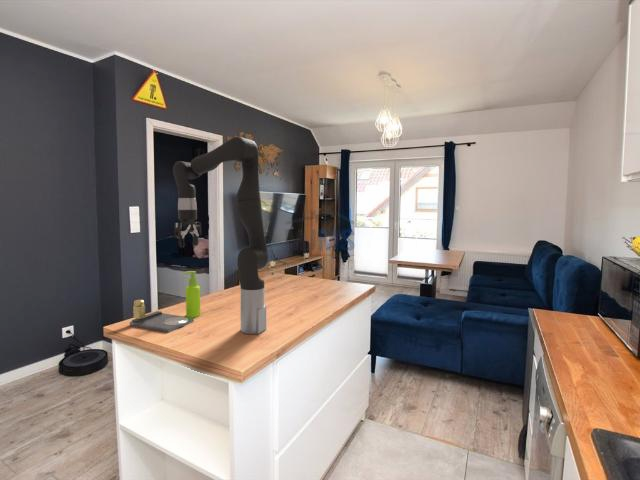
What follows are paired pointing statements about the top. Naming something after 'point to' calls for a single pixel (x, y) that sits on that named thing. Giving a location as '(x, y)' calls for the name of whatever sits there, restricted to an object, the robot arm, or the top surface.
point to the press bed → (161, 321)
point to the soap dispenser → (192, 297)
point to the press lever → (139, 309)
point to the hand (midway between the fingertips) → (188, 246)
